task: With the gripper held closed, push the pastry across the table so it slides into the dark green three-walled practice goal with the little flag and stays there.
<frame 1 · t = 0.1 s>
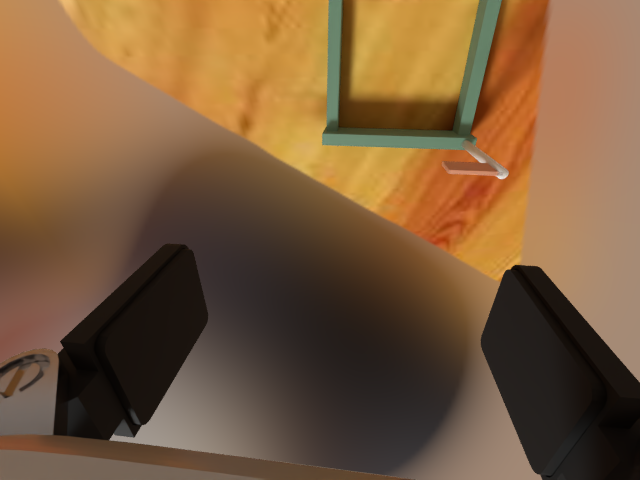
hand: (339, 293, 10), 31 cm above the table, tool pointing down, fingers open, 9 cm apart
practice goal: (401, 70, 33), on the table
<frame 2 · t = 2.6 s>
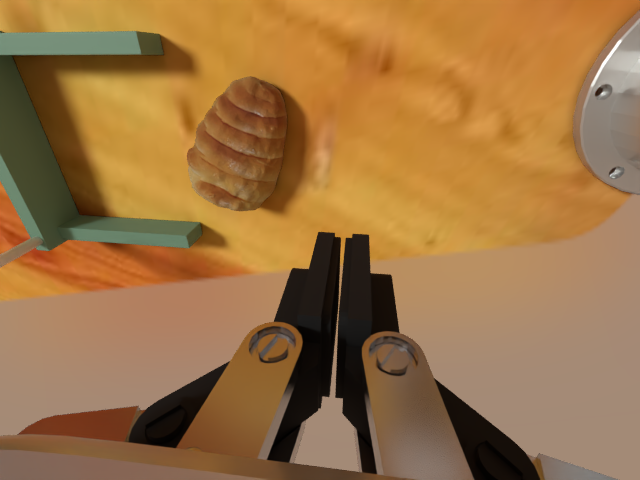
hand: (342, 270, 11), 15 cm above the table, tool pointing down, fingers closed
pastry: (243, 147, 25), on the table
practice goal: (115, 147, 26), on the table
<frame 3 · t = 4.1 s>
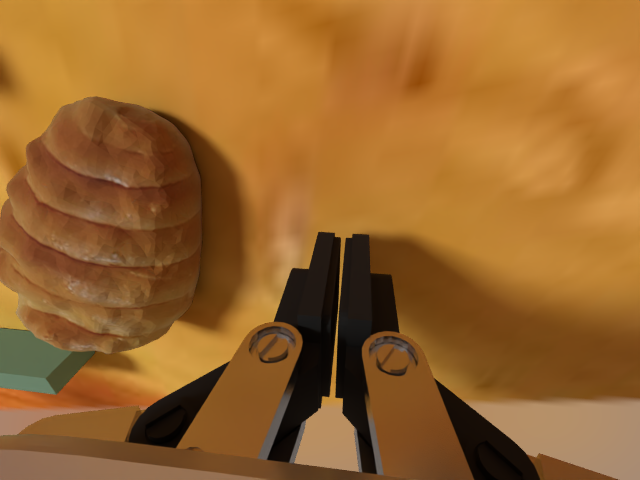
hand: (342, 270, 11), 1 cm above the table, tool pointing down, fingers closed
pastry: (133, 224, 13), on the table
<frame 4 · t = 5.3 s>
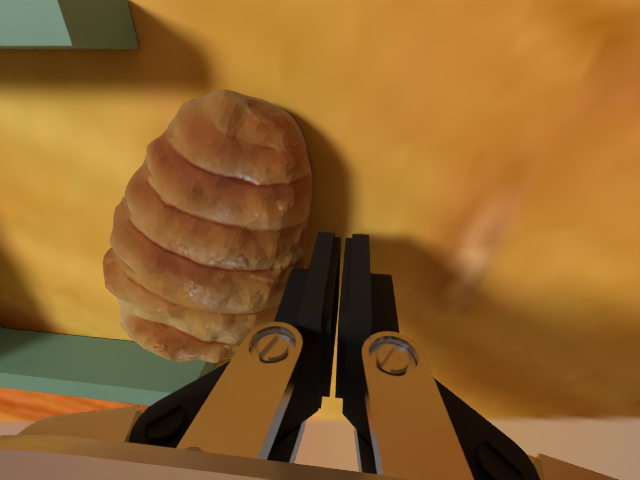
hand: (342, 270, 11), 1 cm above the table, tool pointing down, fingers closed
pastry: (225, 227, 13), on the table
practice goal: (51, 229, 13), on the table
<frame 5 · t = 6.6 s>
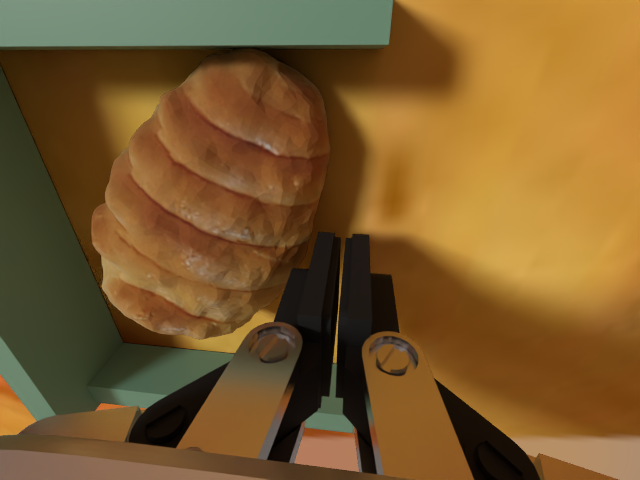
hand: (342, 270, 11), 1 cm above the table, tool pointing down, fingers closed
pastry: (226, 200, 12), on the table
practice goal: (212, 241, 12), on the table
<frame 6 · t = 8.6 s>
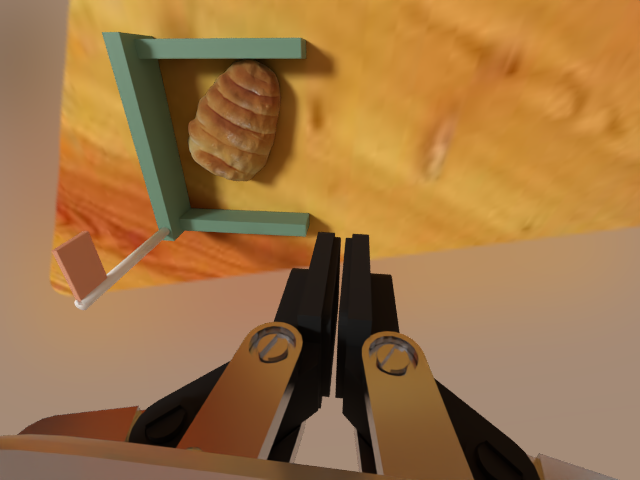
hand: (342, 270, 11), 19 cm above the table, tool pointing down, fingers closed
pastry: (239, 124, 27), on the table
practice goal: (240, 143, 28), on the table
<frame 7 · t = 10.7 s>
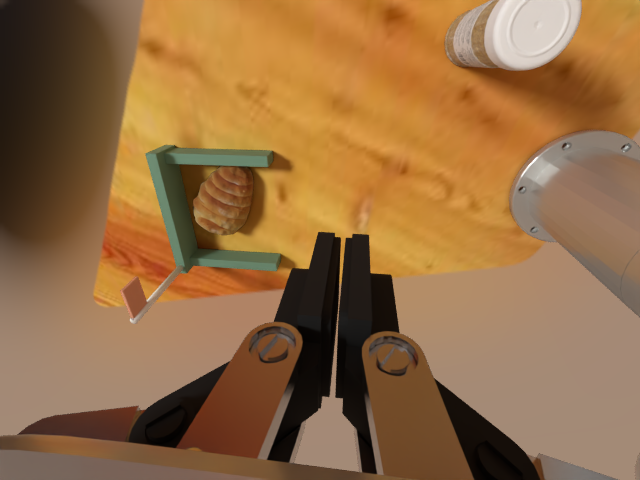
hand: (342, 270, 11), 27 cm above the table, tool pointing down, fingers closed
pastry: (227, 196, 41), on the table
sprinkles bottle: (467, 39, 29), on the table
practice goal: (232, 208, 41), on the table
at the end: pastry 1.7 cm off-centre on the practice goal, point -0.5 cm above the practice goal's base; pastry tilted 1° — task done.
